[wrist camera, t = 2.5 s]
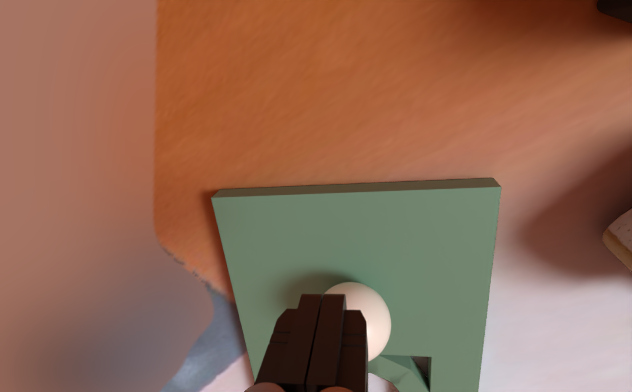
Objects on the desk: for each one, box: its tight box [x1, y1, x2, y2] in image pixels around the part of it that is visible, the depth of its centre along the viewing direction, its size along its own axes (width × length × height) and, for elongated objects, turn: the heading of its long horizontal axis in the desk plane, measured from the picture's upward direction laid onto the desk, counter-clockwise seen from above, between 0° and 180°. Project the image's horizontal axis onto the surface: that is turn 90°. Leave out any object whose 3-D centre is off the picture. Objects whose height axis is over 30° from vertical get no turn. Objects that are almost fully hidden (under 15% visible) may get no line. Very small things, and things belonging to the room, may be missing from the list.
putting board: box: [211, 178, 501, 392], centre depth 27 cm, size 26×18×2 cm
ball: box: [323, 282, 391, 362], centre depth 22 cm, size 5×5×5 cm
